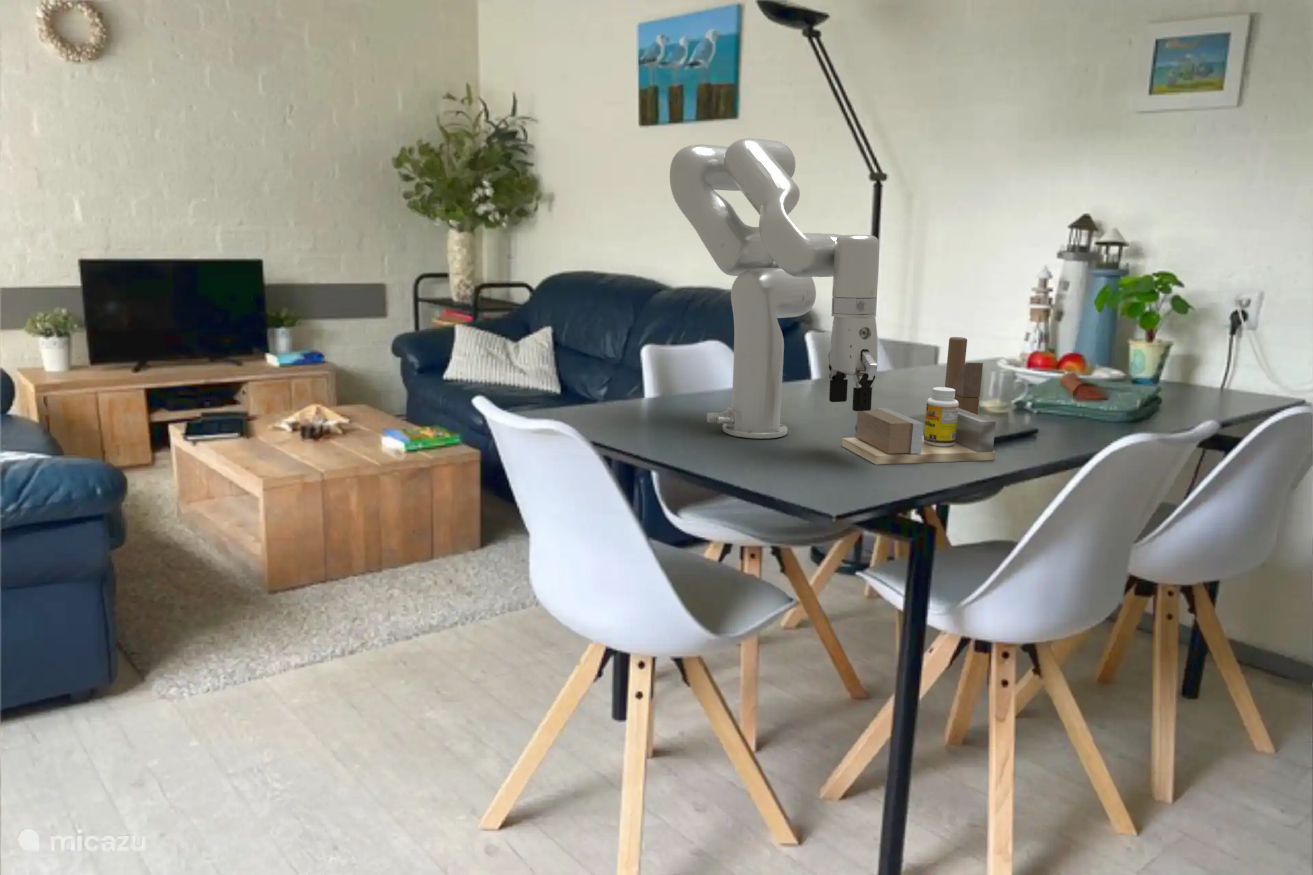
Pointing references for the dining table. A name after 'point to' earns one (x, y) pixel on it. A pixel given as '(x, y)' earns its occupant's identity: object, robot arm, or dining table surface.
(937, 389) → the supplement bottle
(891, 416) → the block
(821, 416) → the dining table surface
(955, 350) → the wooden block
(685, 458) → the dining table surface
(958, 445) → the vise bed
